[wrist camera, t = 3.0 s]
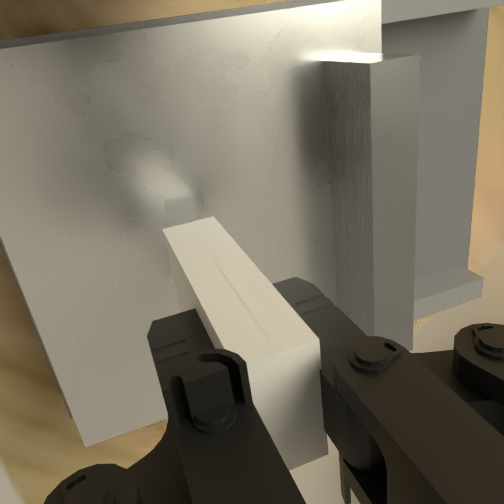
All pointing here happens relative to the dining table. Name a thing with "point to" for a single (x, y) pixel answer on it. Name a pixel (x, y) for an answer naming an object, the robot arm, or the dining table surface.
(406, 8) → the holder
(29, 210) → the lid
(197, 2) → the dining table surface
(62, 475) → the dining table surface
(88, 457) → the dining table surface
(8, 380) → the dining table surface
